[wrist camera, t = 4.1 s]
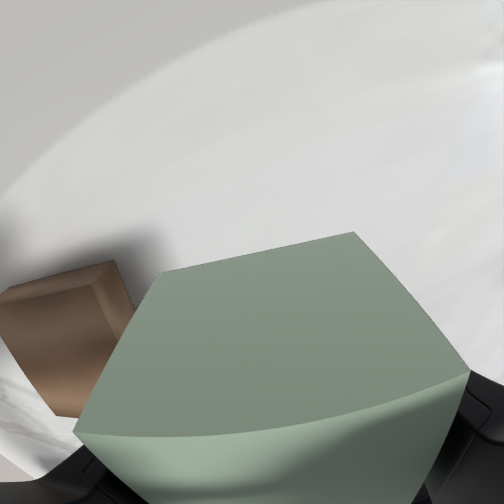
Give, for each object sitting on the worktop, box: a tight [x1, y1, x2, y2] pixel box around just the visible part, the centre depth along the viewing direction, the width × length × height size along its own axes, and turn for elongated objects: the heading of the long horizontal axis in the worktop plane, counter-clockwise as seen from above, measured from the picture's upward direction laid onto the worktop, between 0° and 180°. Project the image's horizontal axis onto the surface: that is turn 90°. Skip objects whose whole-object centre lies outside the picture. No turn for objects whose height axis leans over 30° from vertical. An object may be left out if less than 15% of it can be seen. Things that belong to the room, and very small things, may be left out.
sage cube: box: [73, 232, 471, 504], centre depth 7 cm, size 6×6×6 cm
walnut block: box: [0, 260, 135, 418], centre depth 20 cm, size 12×12×4 cm
